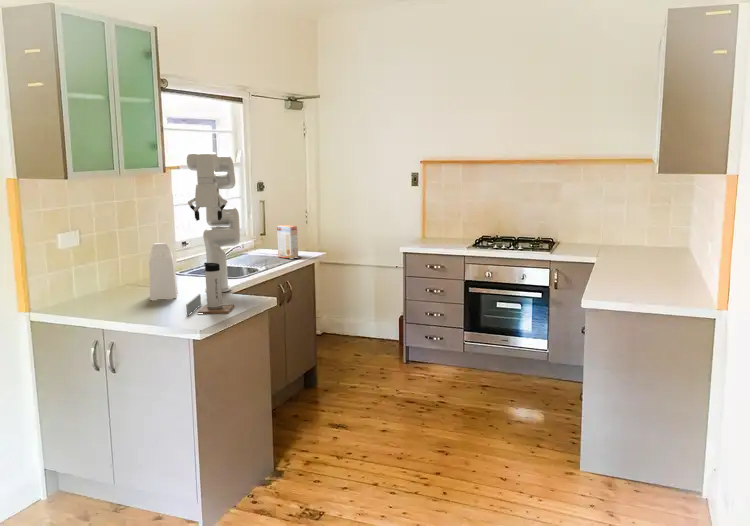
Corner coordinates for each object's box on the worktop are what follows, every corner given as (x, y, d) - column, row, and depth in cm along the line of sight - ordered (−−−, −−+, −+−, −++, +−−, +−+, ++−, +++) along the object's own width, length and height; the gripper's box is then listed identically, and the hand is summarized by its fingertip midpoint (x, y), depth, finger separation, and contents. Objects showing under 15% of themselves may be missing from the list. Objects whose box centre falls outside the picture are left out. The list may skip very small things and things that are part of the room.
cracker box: (298, 258, 425) (297, 226, 422) (291, 260, 421) (289, 226, 418) (285, 256, 435) (284, 224, 432) (278, 257, 431) (276, 225, 428)
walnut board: (205, 307, 299) (205, 304, 299) (234, 306, 299) (234, 304, 299) (197, 314, 286) (197, 311, 286) (228, 313, 286) (227, 311, 286)
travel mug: (209, 306, 296) (206, 261, 293) (223, 306, 296) (221, 261, 292) (205, 309, 290) (202, 264, 286) (220, 309, 290) (217, 263, 286)
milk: (177, 293, 328) (174, 241, 324) (176, 298, 317) (172, 244, 313) (152, 295, 326) (147, 242, 321) (150, 300, 315) (145, 245, 310)
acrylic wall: (199, 304, 304) (198, 294, 303) (201, 304, 304) (200, 294, 303) (186, 315, 284) (186, 304, 283) (188, 315, 284) (188, 304, 283)
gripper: (227, 180, 299) (230, 218, 302) (189, 181, 299) (191, 219, 302) (224, 181, 291) (226, 220, 294) (184, 182, 291) (186, 221, 294)
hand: (208, 220), depth 298 cm, fingers open, 9 cm apart
